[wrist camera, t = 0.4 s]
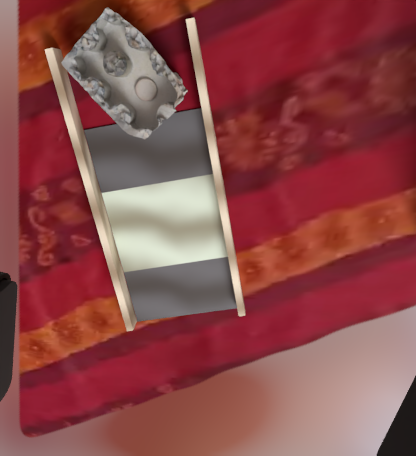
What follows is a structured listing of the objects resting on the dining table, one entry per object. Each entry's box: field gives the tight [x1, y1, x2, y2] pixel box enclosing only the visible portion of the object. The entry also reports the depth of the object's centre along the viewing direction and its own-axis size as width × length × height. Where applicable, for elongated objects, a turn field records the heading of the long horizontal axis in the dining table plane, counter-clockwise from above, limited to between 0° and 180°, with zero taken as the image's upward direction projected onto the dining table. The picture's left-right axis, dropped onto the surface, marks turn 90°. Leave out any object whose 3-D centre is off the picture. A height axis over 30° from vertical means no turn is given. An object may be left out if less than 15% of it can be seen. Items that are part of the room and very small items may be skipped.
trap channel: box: [45, 18, 245, 331], centre depth 42 cm, size 32×15×2 cm, turn 10°
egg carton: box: [61, 7, 188, 139], centre depth 37 cm, size 11×8×4 cm
